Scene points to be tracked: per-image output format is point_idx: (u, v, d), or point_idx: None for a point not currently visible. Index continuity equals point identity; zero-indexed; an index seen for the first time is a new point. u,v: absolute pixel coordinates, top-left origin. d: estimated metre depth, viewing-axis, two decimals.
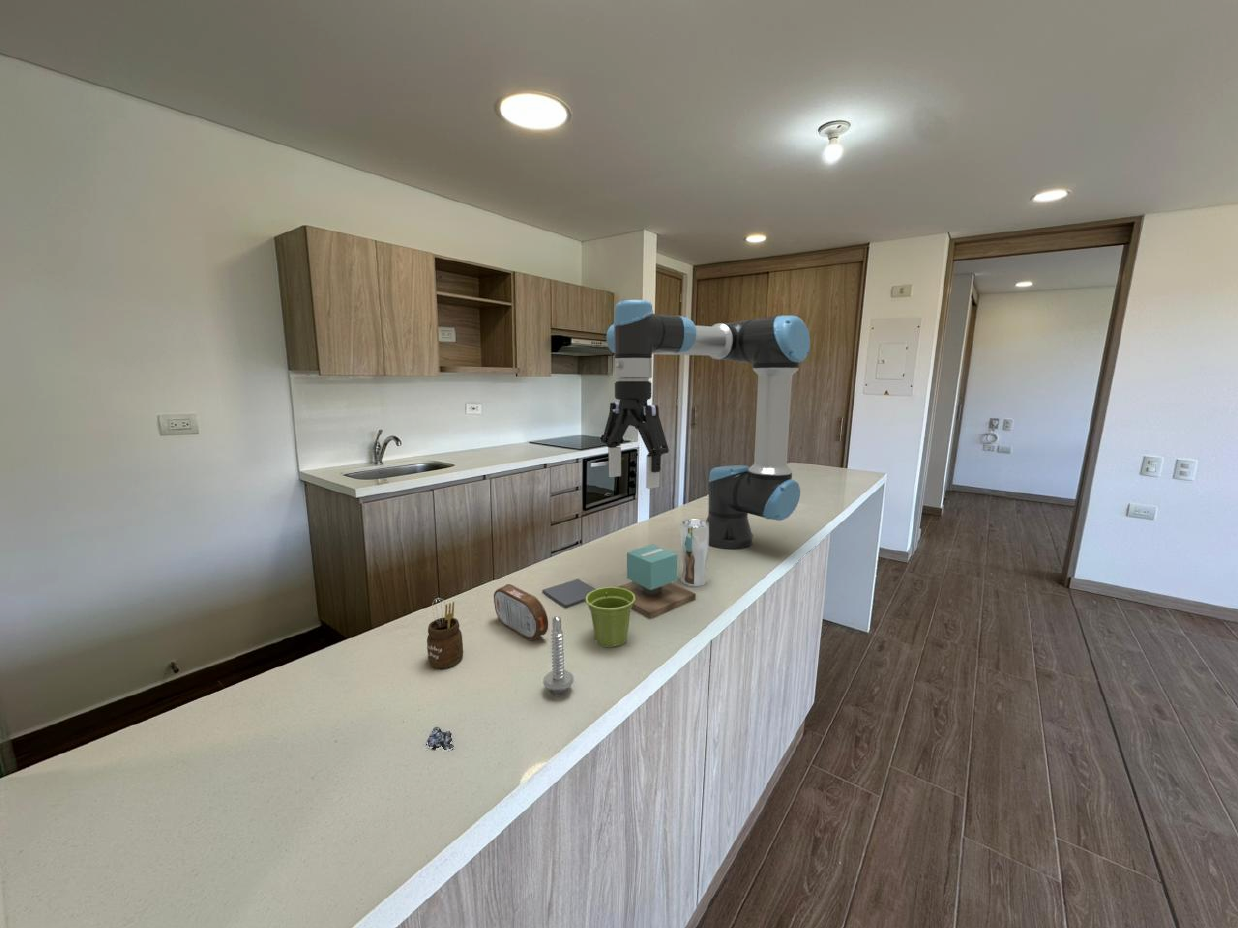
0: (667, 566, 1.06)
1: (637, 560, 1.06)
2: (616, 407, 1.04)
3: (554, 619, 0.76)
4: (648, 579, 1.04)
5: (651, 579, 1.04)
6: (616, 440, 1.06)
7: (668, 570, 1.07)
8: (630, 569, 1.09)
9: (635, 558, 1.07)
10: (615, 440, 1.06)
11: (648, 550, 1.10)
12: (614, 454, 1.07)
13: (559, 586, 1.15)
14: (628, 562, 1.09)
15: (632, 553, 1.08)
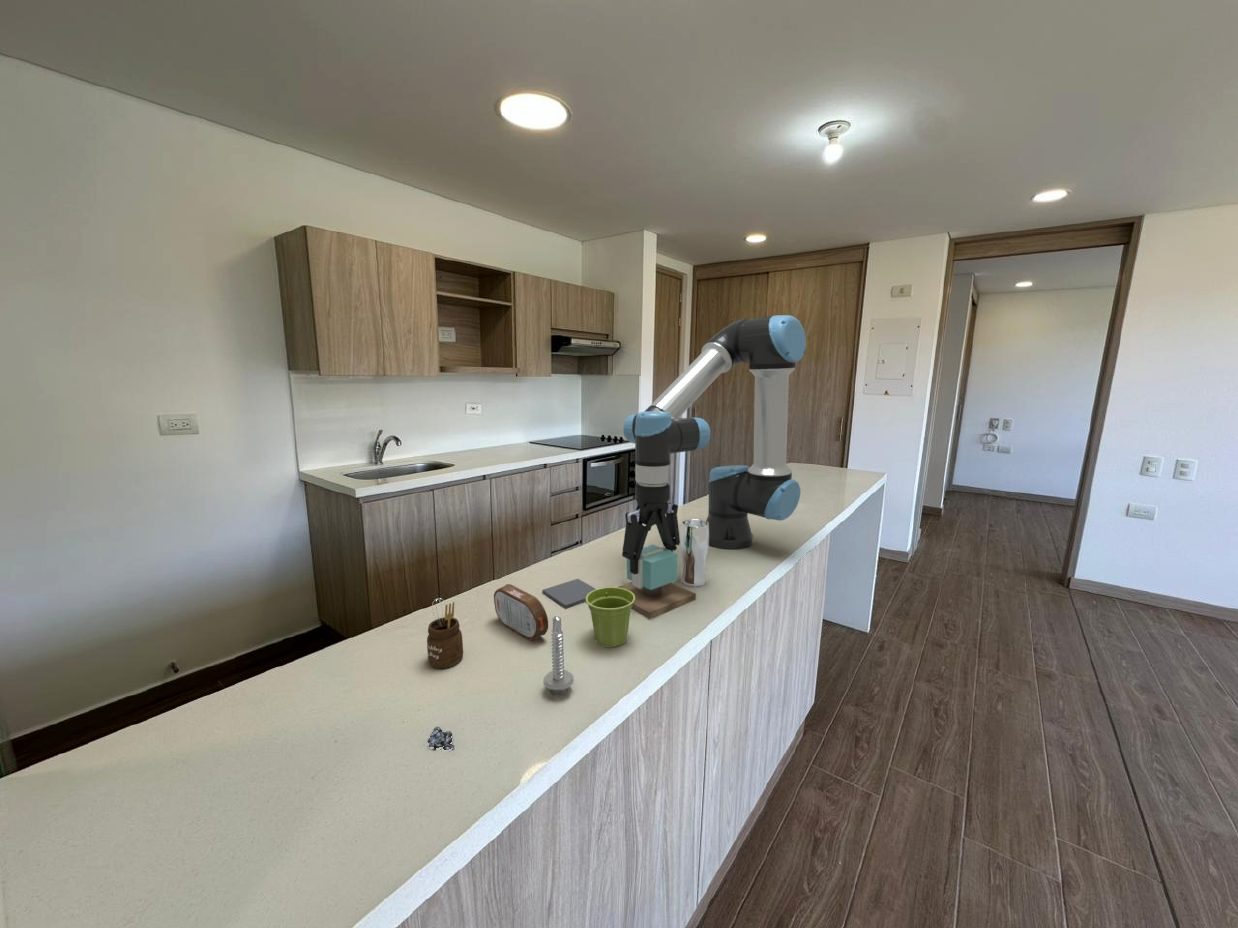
0: (667, 566, 1.06)
1: None
2: None
3: (554, 619, 0.76)
4: (648, 579, 1.04)
5: (651, 579, 1.04)
6: (665, 541, 1.11)
7: (668, 570, 1.07)
8: None
9: None
10: (664, 540, 1.11)
11: (648, 550, 1.10)
12: None
13: (559, 586, 1.15)
14: (628, 562, 1.09)
15: None
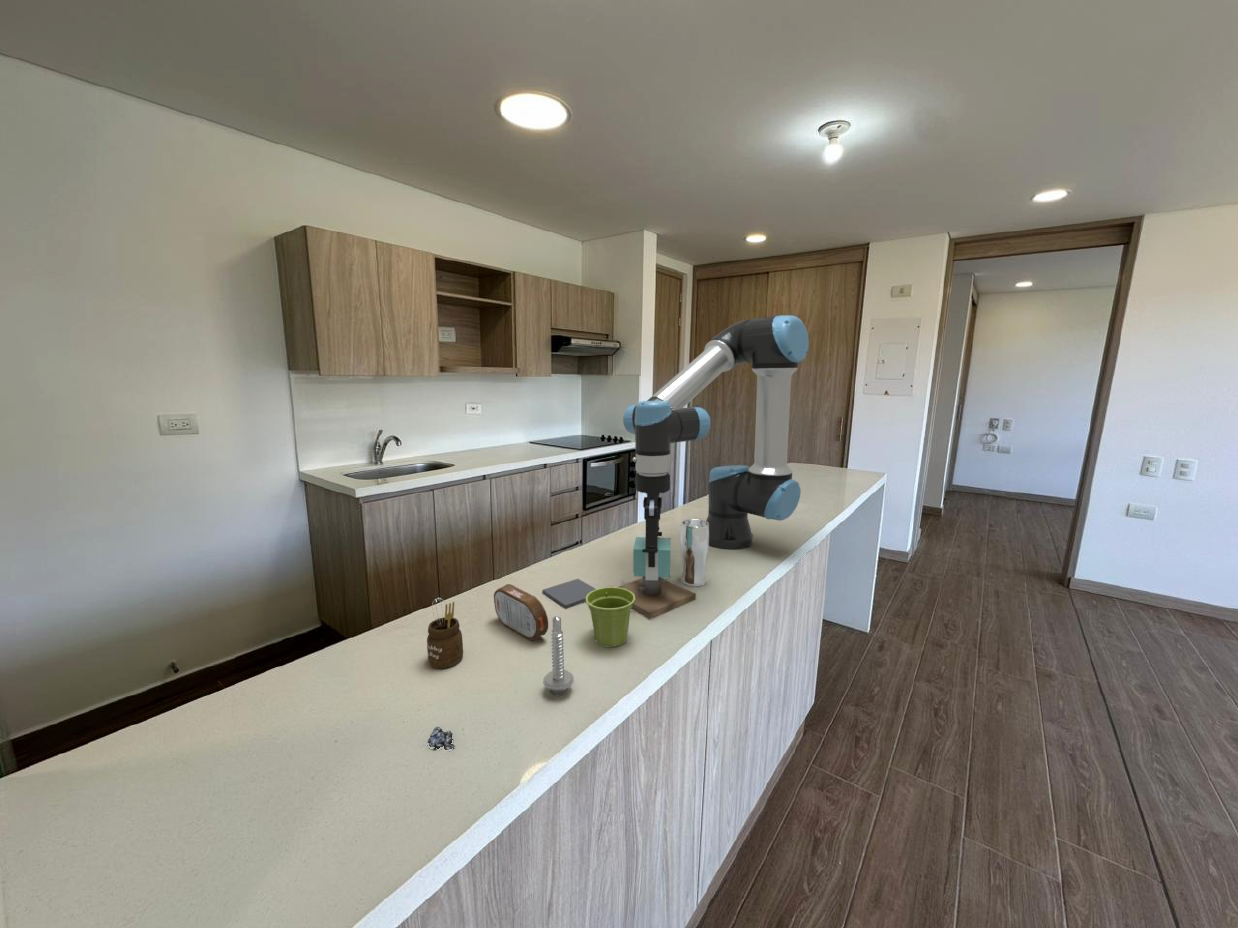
0: None
1: None
2: None
3: (554, 619, 0.76)
4: (667, 568, 1.05)
5: None
6: None
7: None
8: (639, 565, 1.05)
9: None
10: None
11: (644, 542, 1.09)
12: None
13: (559, 586, 1.15)
14: (636, 559, 1.05)
15: (639, 548, 1.05)
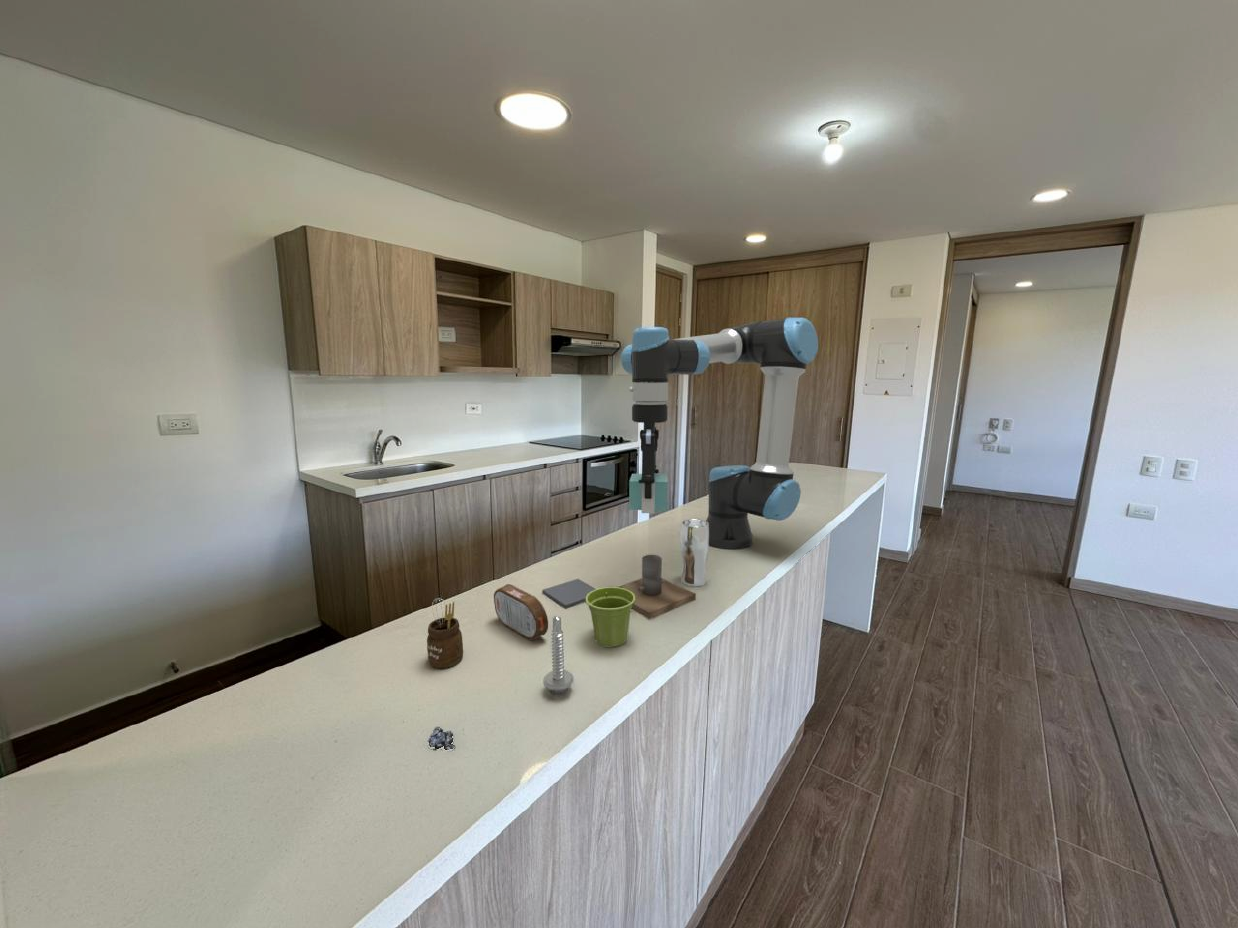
0: None
1: None
2: None
3: (554, 619, 0.76)
4: (663, 501, 1.02)
5: None
6: None
7: None
8: (635, 498, 1.02)
9: None
10: None
11: (641, 477, 1.06)
12: None
13: (559, 586, 1.15)
14: (632, 491, 1.02)
15: (635, 480, 1.02)
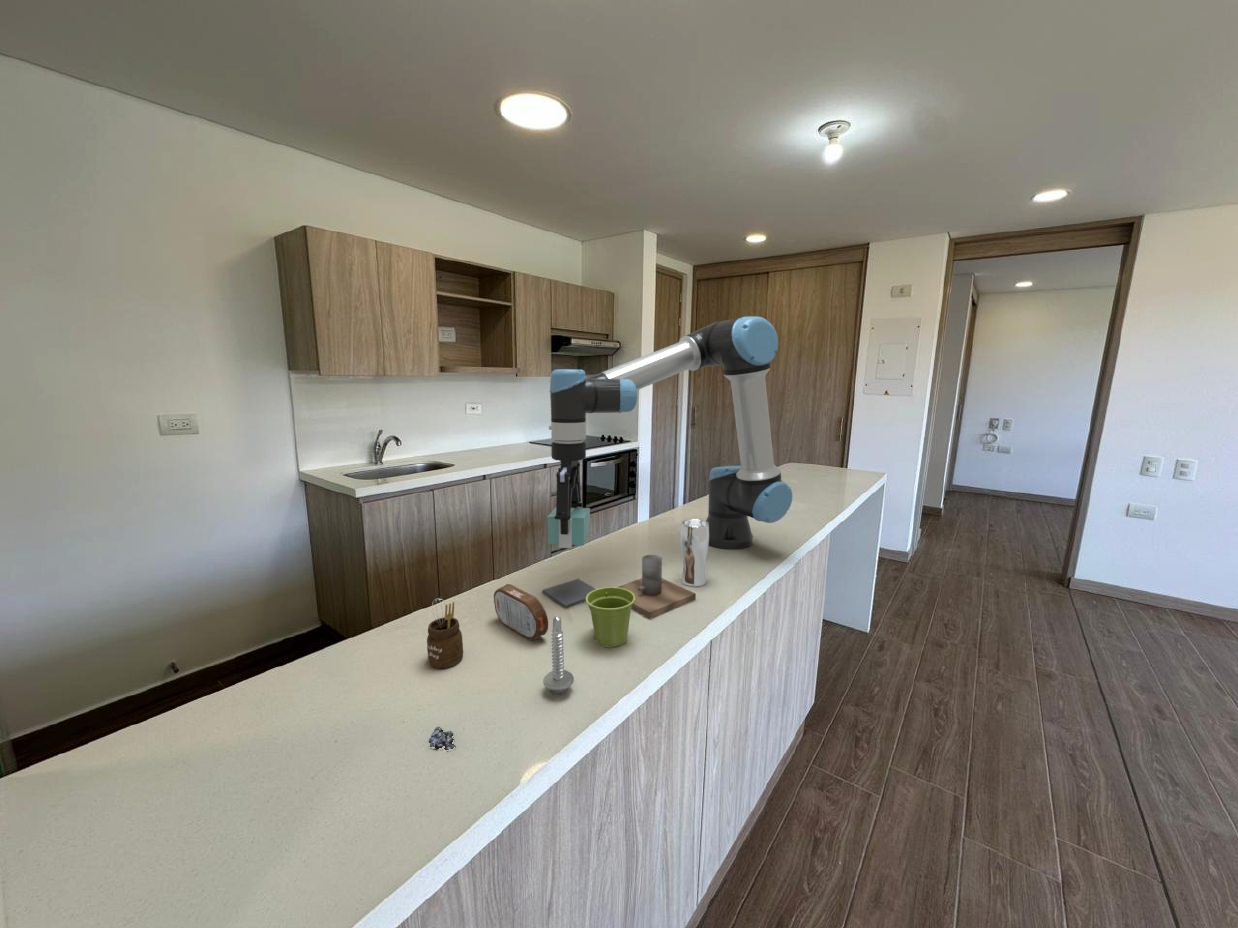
0: (587, 520, 1.10)
1: None
2: None
3: (554, 619, 0.76)
4: (580, 536, 1.05)
5: (584, 534, 1.05)
6: (572, 499, 1.12)
7: (587, 524, 1.10)
8: (553, 533, 1.06)
9: None
10: (571, 499, 1.12)
11: None
12: None
13: (559, 586, 1.15)
14: (550, 526, 1.06)
15: (554, 516, 1.06)
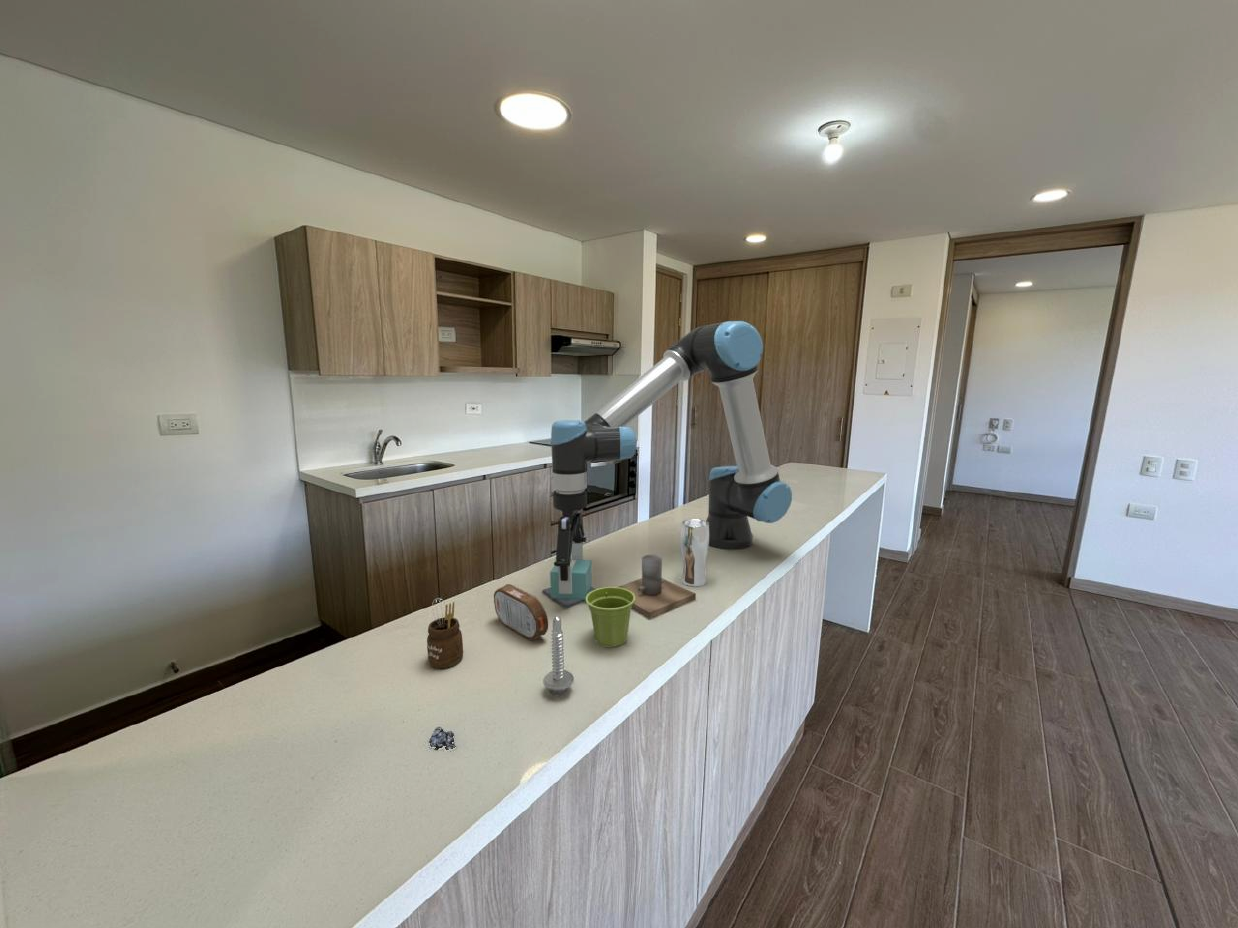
0: (589, 573, 1.12)
1: None
2: None
3: (554, 619, 0.76)
4: (582, 590, 1.08)
5: (586, 589, 1.08)
6: (576, 537, 1.16)
7: (589, 577, 1.12)
8: (556, 588, 1.08)
9: None
10: (575, 537, 1.16)
11: None
12: (575, 549, 1.17)
13: None
14: (553, 581, 1.08)
15: (556, 571, 1.08)
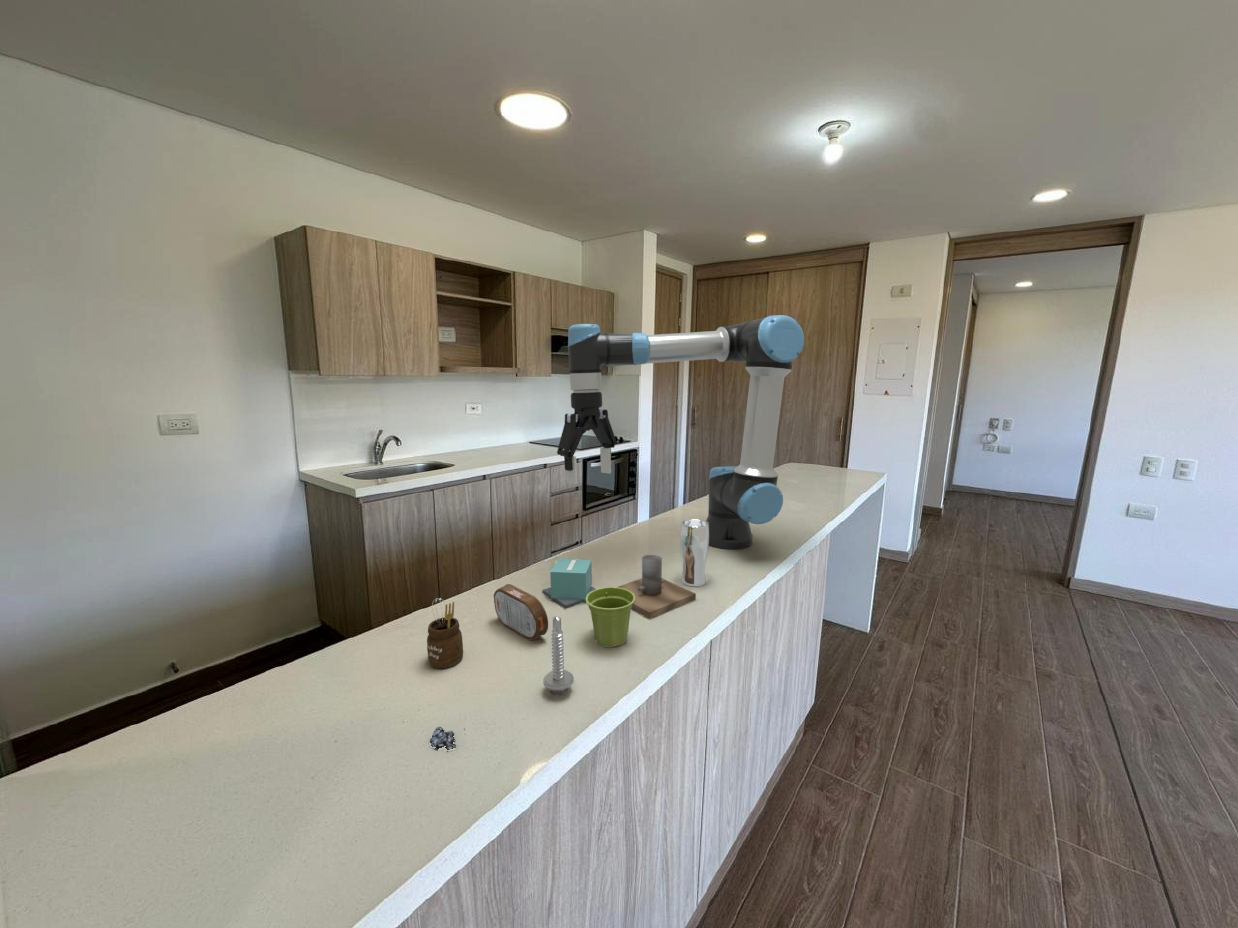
0: (589, 573, 1.12)
1: (565, 576, 1.07)
2: None
3: (554, 619, 0.76)
4: (582, 590, 1.08)
5: (586, 589, 1.08)
6: (603, 442, 1.24)
7: (589, 577, 1.12)
8: (556, 588, 1.08)
9: (564, 575, 1.07)
10: (602, 441, 1.24)
11: (564, 564, 1.12)
12: (603, 453, 1.25)
13: None
14: (553, 581, 1.08)
15: (556, 571, 1.08)
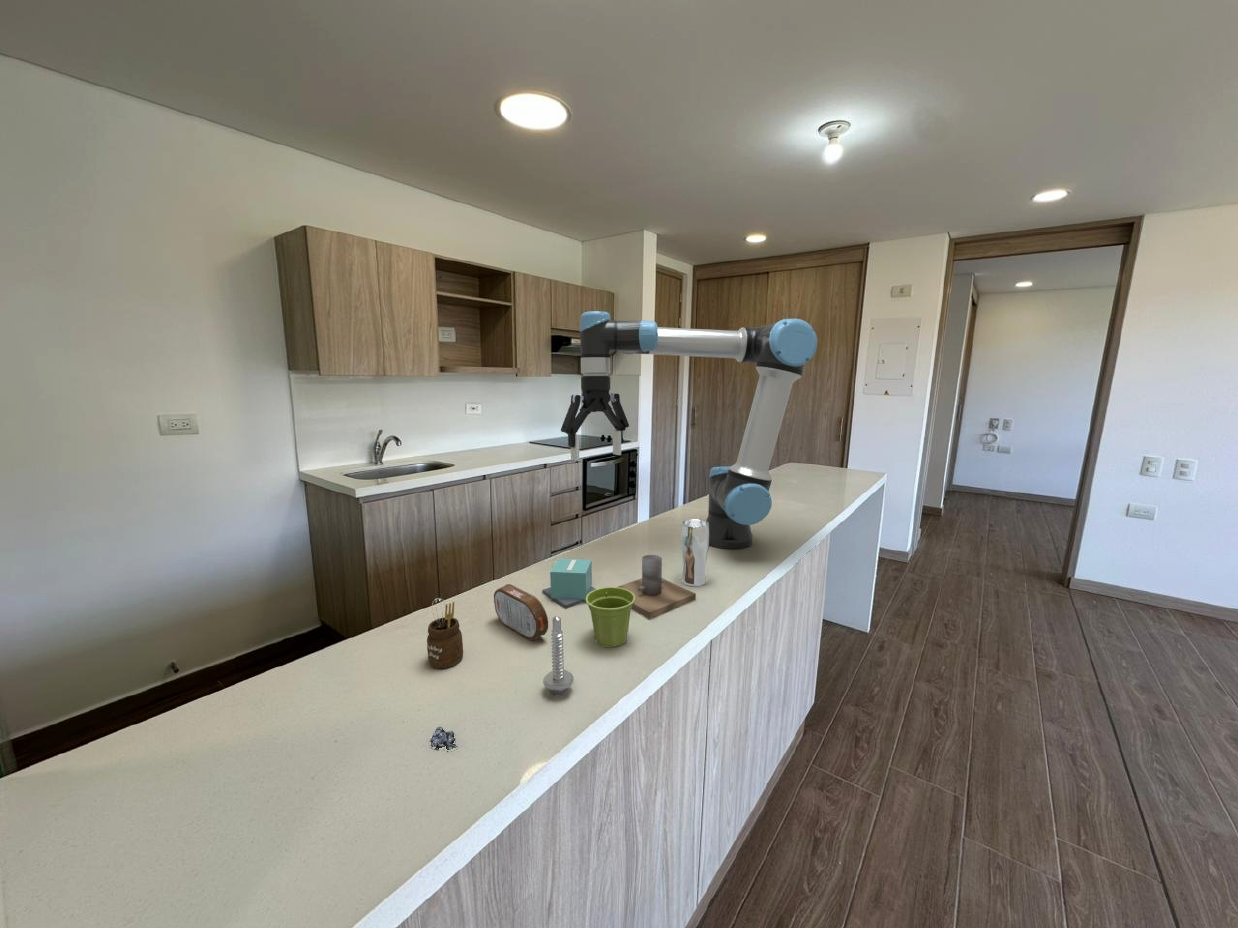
0: (589, 573, 1.12)
1: (565, 576, 1.07)
2: None
3: (554, 619, 0.76)
4: (582, 590, 1.08)
5: (586, 589, 1.08)
6: (614, 424, 1.30)
7: (589, 577, 1.12)
8: (556, 588, 1.08)
9: (564, 575, 1.07)
10: (614, 424, 1.30)
11: (564, 564, 1.12)
12: (614, 436, 1.31)
13: None
14: (553, 581, 1.08)
15: (556, 571, 1.08)
